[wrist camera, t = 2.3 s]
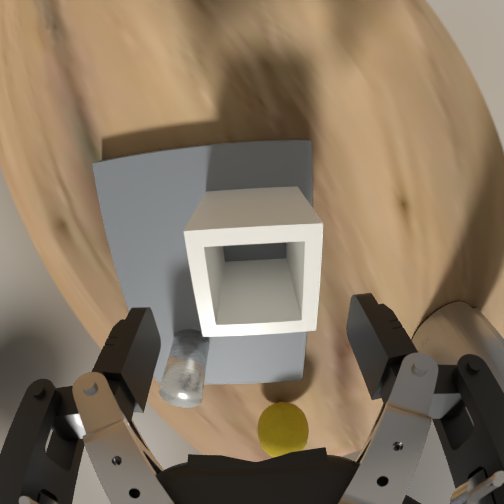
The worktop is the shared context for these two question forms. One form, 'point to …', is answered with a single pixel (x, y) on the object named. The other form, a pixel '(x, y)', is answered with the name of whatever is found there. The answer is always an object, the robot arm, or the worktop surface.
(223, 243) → the duct collar
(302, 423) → the lemon
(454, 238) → the worktop surface
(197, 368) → the silver metal capsule
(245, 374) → the duct base
